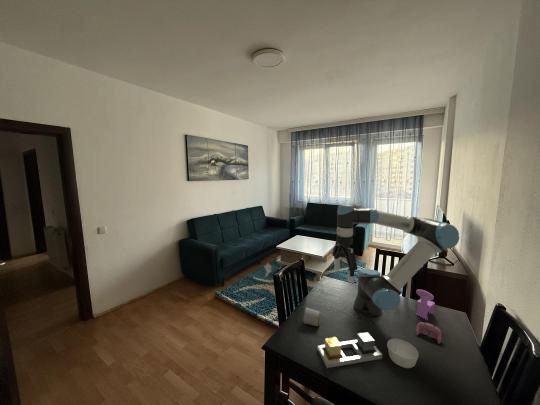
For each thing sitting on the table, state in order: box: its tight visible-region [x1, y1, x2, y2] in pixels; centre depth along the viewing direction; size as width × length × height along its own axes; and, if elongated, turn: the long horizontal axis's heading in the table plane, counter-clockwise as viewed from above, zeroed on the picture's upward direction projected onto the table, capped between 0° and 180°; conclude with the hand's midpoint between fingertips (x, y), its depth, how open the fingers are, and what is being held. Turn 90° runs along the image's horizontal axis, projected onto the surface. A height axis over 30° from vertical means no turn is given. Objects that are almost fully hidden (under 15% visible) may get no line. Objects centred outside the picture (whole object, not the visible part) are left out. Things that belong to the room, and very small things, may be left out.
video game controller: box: [415, 321, 442, 344], centre depth 105 cm, size 10×5×7 cm, turn 48°
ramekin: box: [386, 338, 420, 369], centre depth 92 cm, size 11×11×5 cm
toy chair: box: [414, 289, 436, 321], centre depth 121 cm, size 8×9×15 cm
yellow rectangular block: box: [324, 336, 342, 360], centre depth 93 cm, size 5×5×7 cm
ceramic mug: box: [303, 307, 322, 327], centre depth 116 cm, size 11×8×8 cm
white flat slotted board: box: [317, 339, 383, 369], centre depth 95 cm, size 25×10×2 cm, turn 100°
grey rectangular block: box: [356, 331, 376, 354], centre depth 96 cm, size 5×5×7 cm
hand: (343, 275), depth 111 cm, fingers open, 13 cm apart
